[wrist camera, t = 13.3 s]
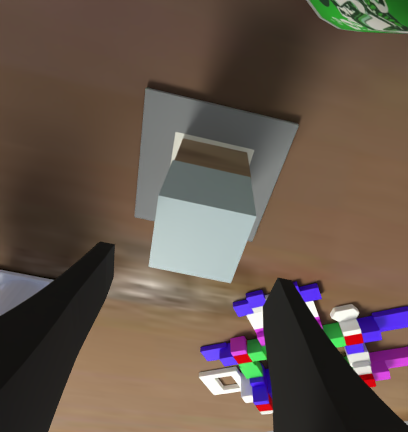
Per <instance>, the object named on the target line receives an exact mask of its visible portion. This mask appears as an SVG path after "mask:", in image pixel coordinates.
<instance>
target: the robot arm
mask: <svg viewBox="0 0 408 432" xmlns="http://www.w3.org/2000/svg"><path fill="white" fill-rule="evenodd" d="M114 251H115V245H114V244H109V243H104V242H99V243H97V244H96V245H95V246H94V247H93V248H92V249H91V250H90V251H89V252H88V253H87V254H85V255H84V256H83V257H82V258H81V259H80V260H79V261H77V262H76V263H75V264H74V265H73V266H71V267H70V268H69V269H68V270H66V271H65V272H64V273H63V274H62V275H60V276H59V277H58V278H56V279H55V280H52V279H47V278H41V277H36V276H31V275H26V274H21V273H15V272H10V271H5V270H0V432H48V431H49V428H50V425H51V422H52V420H53V417H54V414H55V411H56V409H57V406H58V403H59V401H60V398H61V396H62V393H63V390H64V388H65V385H66V383H67V380H68V378H69V375H70V373H71V370H72V367H73V365H74V362H75V360H76V358H77V355H78V353H79V351H80V349H81V347H82V345H83V343H84V341H85V339H86V337H87V335H88V333H89V331H90V329H91V327H92V325H93V323H94V321H95V319H96V317H97V315H98V313H99V311H100V309H101V307H102V305H103V303H104V301H105V299H106V297H107V294H108V291H109V289H110V286H111V283H112V280H113V277H114ZM263 332H264V339H265V346H266V353H267V360H268V367H269V374H270V380H271V389H272V405H273V429H274V432H408V425H406V423H405V422H404V421H403V420H401V419H400V418H399V417H398V416H397V415H396V414H395V413H394V412H393V411H392V410H391V409H390V408H389V407H388V406H387V405H386V404H385V403H384V402H383V401H382V400H381V399H380V398H379V397H378V396H377V395H376V394H375V392H374V391H373V390H372V389H371V388H370V387H369V386H368V385H367V384H366V383H365V382H364V381H363V380H362V378H361V377H360V376H359V375H358V374H357V373H356V372H355V370H354V369H353V368H352V367H351V366H350V364H349V363H348V362H347V361H346V360H345V358H344V357H343V356H342V355H341V353H340V352H339V351H338V350H337V348H336V347H335V346H334V344H333V343H332V341H331V340H330V339H329V337H328V336H327V335H326V333H325V332H324V330H323V329H322V328H321V326H320V325H319V323H318V322H317V320H316V319H315V317H314V316H313V314H312V313H311V311H310V309H309V308H308V306H307V305H306V303H305V302H304V300H303V298H302V297H301V295H300V293H299V292H298V290H297V289H296V287H295V285H294V284H293V282H292V281H291V280H287V279H282V278H278V279H277V280H276V282H275V284H274V286H273V288H272V290H271V292H270V294H269V296H268V298H267V300H266V302H265V304H264V305H263Z"/></svg>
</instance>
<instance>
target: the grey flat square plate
mask: <svg viewBox="0 0 408 432" xmlns="http://www.w3.org/2000/svg"><path fill="white" fill-rule="evenodd" d="M298 126H299V125H298V123H294V122H290V121H286V120H282V119H277V118H273V117H269V116H265V115H261V114H256V113H252V112H248V111H244V110H240V109H236V108H231V107H227V106H223V105H219V104H215V103H210V102H206V101H202V100H198V99H194V98H189V97H185V96H181V95H177V94H173V93H169V92H164V91H160V90H156V89H152V88H148V87H147V88H146V89H145V101H144V113H143V124H142V136H141V148H140V159H139V171H138V183H137V194H136V206H135V217H137V218H142V219H146V220H151V221H155V217H156V210H157V202H158V195H159V193H160V190H161V188H162V185H163V183H164V180H165V178H166V175H167V173H168V170H169V168H170V166H171V163H172V161H173V160H175V157H176V155H177V152H178V150H179V147H180V145H181V142H182V139H183V138H184V139H189V140H193V141H198V142H202V143H207V144H211V145H216V146H220V147H225V148H229V149H234V150H238V151H243V152H247V155H248V161H249V167H250V173H251V184H252V191H253V197H254V203H255V210H256V216H257V217H256V219H255V222H254V224H253V227H252V229H251V232H250V235H249V237H248V240H247V241H251V242H252V241H253V238H254V236H255V233H256V231H257V228H258V226H259V223H260V221H261V218H262V216H263V213H264V211H265V208H266V206H267V203H268V201H269V198H270V196H271V193H272V191H273V188H274V186H275V183H276V181H277V178H278V176H279V173H280V171H281V168H282V166H283V163H284V161H285V158H286V156H287V153H288V151H289V148H290V146H291V143H292V141H293V139H294V136H295V134H296V131H297V129H298Z"/></svg>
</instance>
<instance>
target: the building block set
mask: <svg viewBox="0 0 408 432" xmlns="http://www.w3.org/2000/svg"><path fill="white" fill-rule="evenodd" d="M293 284H294V285H295V287H296V289H297V290H298V292H299V293H300V295H301V297H302V298H303V300H304V302H305V303H306V305H307V306H308V308H309V309H310V311H311V313H312V314H313V316H314V317H315V319H316V320H317V322H318V323H319V325H320V326H321V328H322V329H323V330H324V332H325V333H326V335H327V336H328V337H329V339H330V340H331V341H332V343H333V344H334V346H335V347H336V348H337V347H343V346H344V348H345V351H346V355H347V356H346V357H344V358H345V360H346V361H347V362H348V363H349V364H350V366H351V367H352V368H353V369H354V370H355V372H356V373H357V374H358V375H359V376H360V377H361V378H362V380H363V381H364V382H365V383H366V384H367V385H368V386H369V387H375V386H376V384H375V381H378V380H385V379H390V373H389V370H388V368H394V367H401V366H408V347H402V348H396V349H390V350H383V351H377V352H371V353H368V350H367V348H366V346H365V343H366V342H372V341H378V340H382V337H381V332H383V331H389V330H394V329H400V328H406V327H408V306H405V307H400V308H395V309H389V310H384V311H379V312H374V313H372V316H368V317H363V318H358V319H356V318H357V316H358V314H359V311H358V309H357V308H356V307H355V306H354V305H352V304H348V305H344V306H339V307H334V308H333V310H332V311H331V313H330V316H331V318H332V319H334V320H336V321H338V322H339V323H338V322H337V323H332V324H326V325H322V324H321V321H320V318H319V315H318V312H317V310H316V307H315V304H314V300H318V299H322V298H321V295H320V292H319V288H318V286H317V283H314V284H310V285H306V286H302V287H298V284H297V281H296V282H293ZM268 296H269V294H267V295H264V293H263V291H262V290H258V291H254V292H250V293H246V300H242V301H237V302H233V308H234V309H235V311H236V313H237V315H238V316H239V317H240V316H245V315H246V316H247V317H248V319H249V321H250V323H251V325H252V326H253V328H254V330H255V332H256V334H257V339H252V340H246V338H245V336H241V337H236V338H230V343H226V342H225V343H220V344H215V345H209V346H204V347H201V350H200V352H201V353H202V355H203V356H204V357H205V358H206V360H207V361H213V360H218V359H220V361H221V362H222V363H223V365H224V366H230V365H236V364H239V368H240V370H241V371H242V373H240V371H239V370H238V368H237V367H236V366H235V367H229V368H223V369H217V370H211V371H205V372H199V378H200V379H201V380H202V381H203V382H204V384H205V385H206V386H207V387H208V388H209V390H210V391H211V392H212V393H213V394H214V395H218V394H225V393H232V392H239V391H241V397H242V398H243V400H244V401H245V402H246V403H249V402H253V403H254V404H255V406H256V407H257V408H258V410H259V411H260V412H261V414H271V413H273V405H272V389H271V380H270V374H269V369H265V368H264V366H263V364H262V363H260V362H259V361H260V360H266V359H267V357H266V354H267V353H266V346H265V339H264V332H263V305H264V304H265V302H266V300H267V298H268ZM333 315H334V316H333ZM225 376H232V377H233V378H234V380H235V381H236V382H237V384H233V385H226V386H224V385H223V384H222V383H221V382H220V380H219V379H218V378H219V377H225Z"/></svg>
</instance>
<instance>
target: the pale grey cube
mask: <svg viewBox="0 0 408 432" xmlns="http://www.w3.org/2000/svg"><path fill="white" fill-rule="evenodd" d="M256 217H257V216H256V210H255V203H254V197H253V191H252V184H251V178H250V177H247V176H243V175H238V174H234V173H229V172H225V171H221V170H216V169H212V168H207V167H203V166H198V165H194V164H189V163H185V162H180V161H176V160H173V161H172V163H171V166H170V168H169V170H168V173H167V175H166V178H165V180H164V183H163V185H162V188H161V190H160V193H159V195H158V202H157V210H156V217H155V224H154V232H153V239H152V246H151V253H150V261H149V267H153V268H158V269H163V270H168V271H173V272H178V273H183V274H188V275H193V276H198V277H203V278H208V279H213V280H218V281H223V282H228V283H231V281H232V279H233V276H234V273H235V271H236V268H237V266H238V263H239V260H240V258H241V255H242V253H243V250H244V248H245V245H246V242H247V240H248V237H249V235H250V232H251V229H252V227H253V224H254V222H255V219H256Z"/></svg>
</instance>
